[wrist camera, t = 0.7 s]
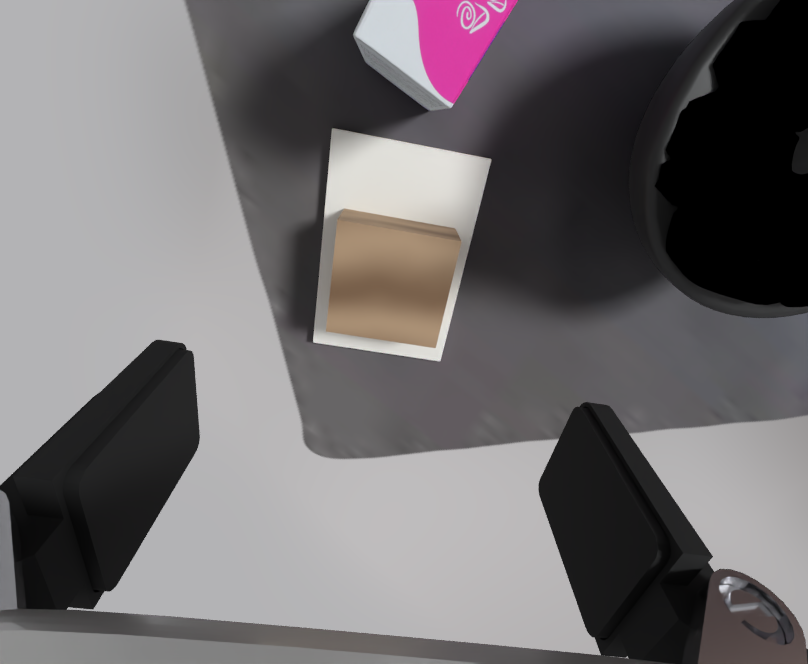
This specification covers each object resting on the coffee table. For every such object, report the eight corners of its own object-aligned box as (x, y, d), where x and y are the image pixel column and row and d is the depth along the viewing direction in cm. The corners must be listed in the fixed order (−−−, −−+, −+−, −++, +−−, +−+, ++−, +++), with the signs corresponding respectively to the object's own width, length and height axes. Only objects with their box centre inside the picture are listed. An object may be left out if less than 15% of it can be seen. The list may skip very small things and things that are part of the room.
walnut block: (344, 208, 33) (337, 219, 29) (455, 228, 34) (461, 241, 30) (333, 310, 37) (325, 331, 33) (432, 326, 38) (435, 348, 34)
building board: (333, 128, 31) (331, 128, 30) (489, 158, 32) (491, 159, 31) (314, 338, 39) (313, 342, 38) (439, 357, 40) (440, 361, 39)
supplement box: (432, 114, 31) (448, 113, 20) (363, 61, 29) (343, 32, 19) (481, 34, 28) (526, -11, 18) (409, -27, 27) (414, -114, 17)
